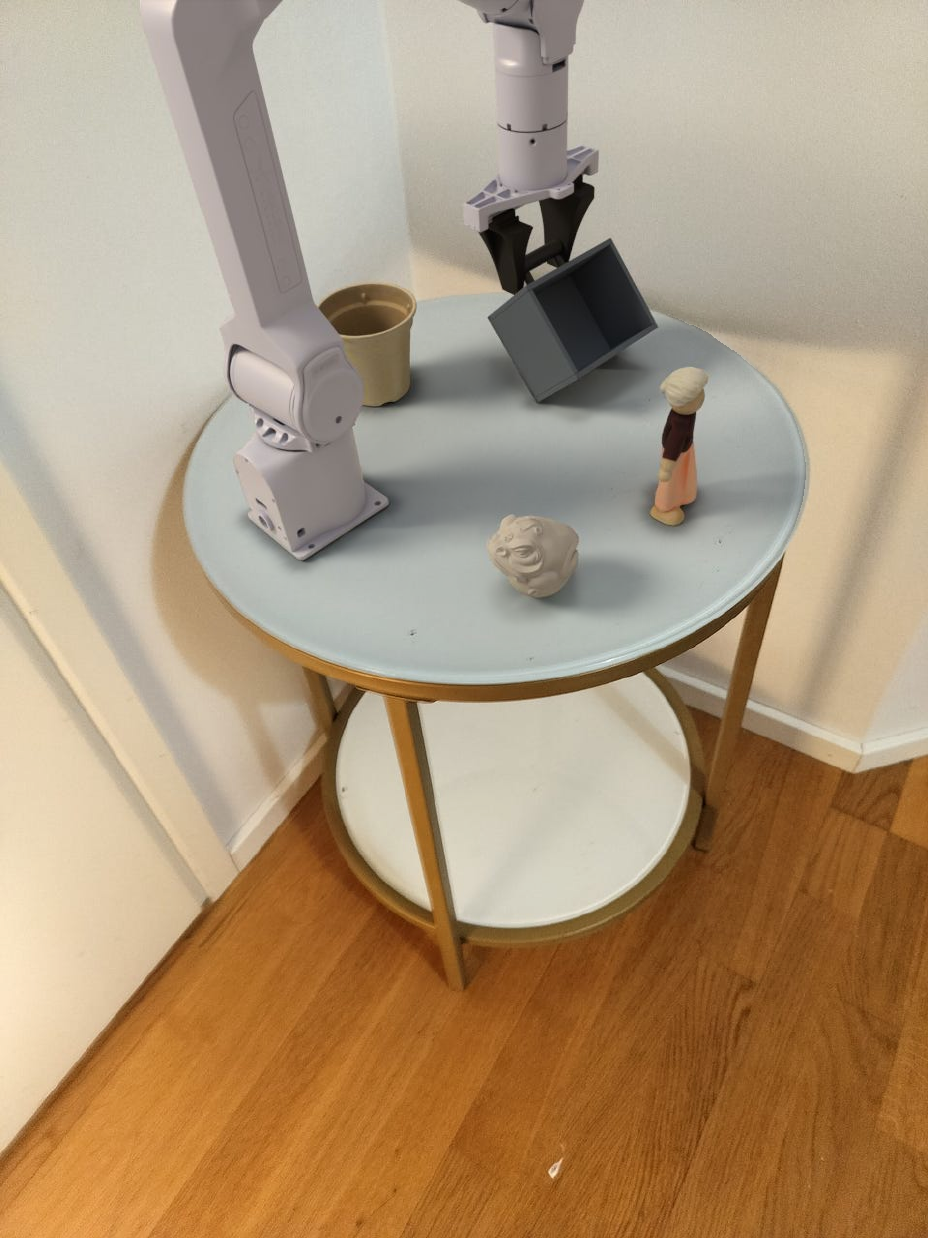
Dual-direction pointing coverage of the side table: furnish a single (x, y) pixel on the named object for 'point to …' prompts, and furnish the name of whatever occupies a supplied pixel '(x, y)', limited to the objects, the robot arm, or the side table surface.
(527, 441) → the side table surface
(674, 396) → the grandmother figurine
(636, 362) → the side table surface
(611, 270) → the basket
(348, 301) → the flower pot
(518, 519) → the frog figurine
